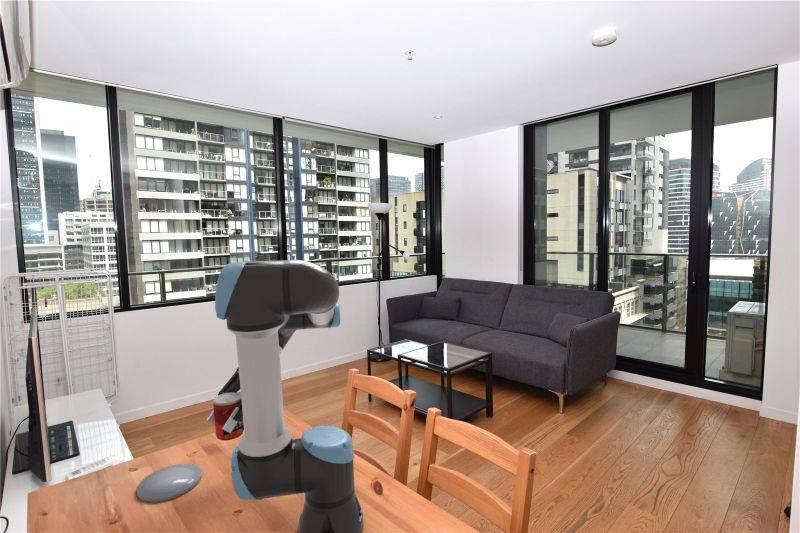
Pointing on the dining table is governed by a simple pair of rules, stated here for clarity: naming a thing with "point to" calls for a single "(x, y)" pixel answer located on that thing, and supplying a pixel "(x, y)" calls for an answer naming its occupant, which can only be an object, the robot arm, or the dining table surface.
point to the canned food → (227, 415)
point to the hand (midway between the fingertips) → (218, 426)
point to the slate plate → (169, 483)
